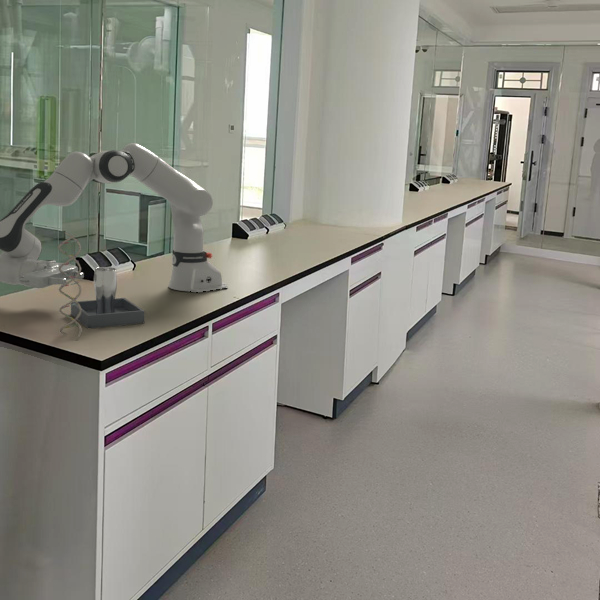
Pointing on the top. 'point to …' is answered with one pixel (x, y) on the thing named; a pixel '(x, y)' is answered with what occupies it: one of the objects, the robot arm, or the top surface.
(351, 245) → the top surface
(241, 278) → the top surface
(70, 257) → the dna model
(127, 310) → the box
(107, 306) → the beer glass
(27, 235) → the robot arm
